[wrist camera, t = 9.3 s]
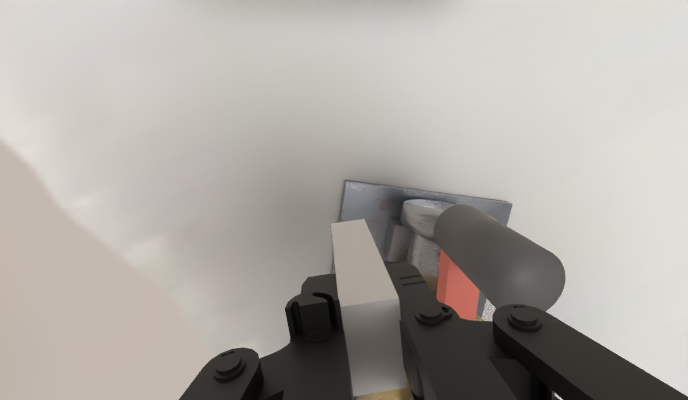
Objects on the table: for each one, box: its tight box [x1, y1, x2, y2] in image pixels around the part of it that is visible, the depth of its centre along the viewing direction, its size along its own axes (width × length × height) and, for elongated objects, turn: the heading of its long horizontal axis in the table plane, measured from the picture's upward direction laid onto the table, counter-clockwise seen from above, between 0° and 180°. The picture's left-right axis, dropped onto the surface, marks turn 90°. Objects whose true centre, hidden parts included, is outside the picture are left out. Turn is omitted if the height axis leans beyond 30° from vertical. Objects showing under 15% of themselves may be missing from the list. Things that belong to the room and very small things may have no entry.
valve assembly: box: [332, 180, 512, 400], centre depth 25 cm, size 24×14×10 cm, turn 172°
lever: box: [410, 204, 565, 400], centre depth 16 cm, size 16×4×6 cm, turn 179°
